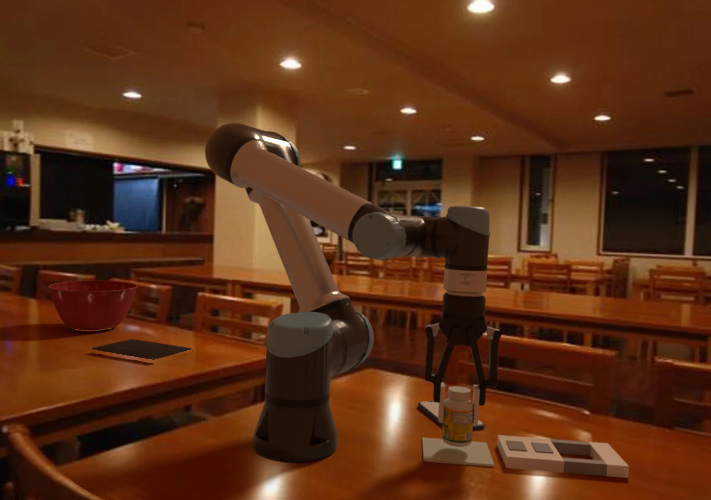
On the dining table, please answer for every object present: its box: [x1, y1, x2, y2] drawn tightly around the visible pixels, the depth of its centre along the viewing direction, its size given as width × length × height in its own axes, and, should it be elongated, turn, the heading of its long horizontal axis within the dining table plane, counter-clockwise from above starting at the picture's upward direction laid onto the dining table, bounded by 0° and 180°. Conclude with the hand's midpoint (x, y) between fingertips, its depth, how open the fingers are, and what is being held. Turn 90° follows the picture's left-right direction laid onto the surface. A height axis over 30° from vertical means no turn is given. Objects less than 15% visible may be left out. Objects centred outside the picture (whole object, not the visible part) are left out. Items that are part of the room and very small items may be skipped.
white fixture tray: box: [496, 434, 630, 479], centre depth 100 cm, size 20×10×2 cm, turn 85°
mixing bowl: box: [47, 280, 139, 330], centre depth 197 cm, size 28×28×15 cm
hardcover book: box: [91, 338, 193, 360], centre depth 165 cm, size 16×23×2 cm
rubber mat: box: [421, 437, 495, 468], centre depth 102 cm, size 12×10×1 cm
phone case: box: [417, 399, 485, 431], centre depth 121 cm, size 9×2×16 cm
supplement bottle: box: [441, 385, 474, 447], centre depth 101 cm, size 5×5×10 cm
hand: (457, 421), depth 101 cm, fingers closed on supplement bottle, 5 cm apart
